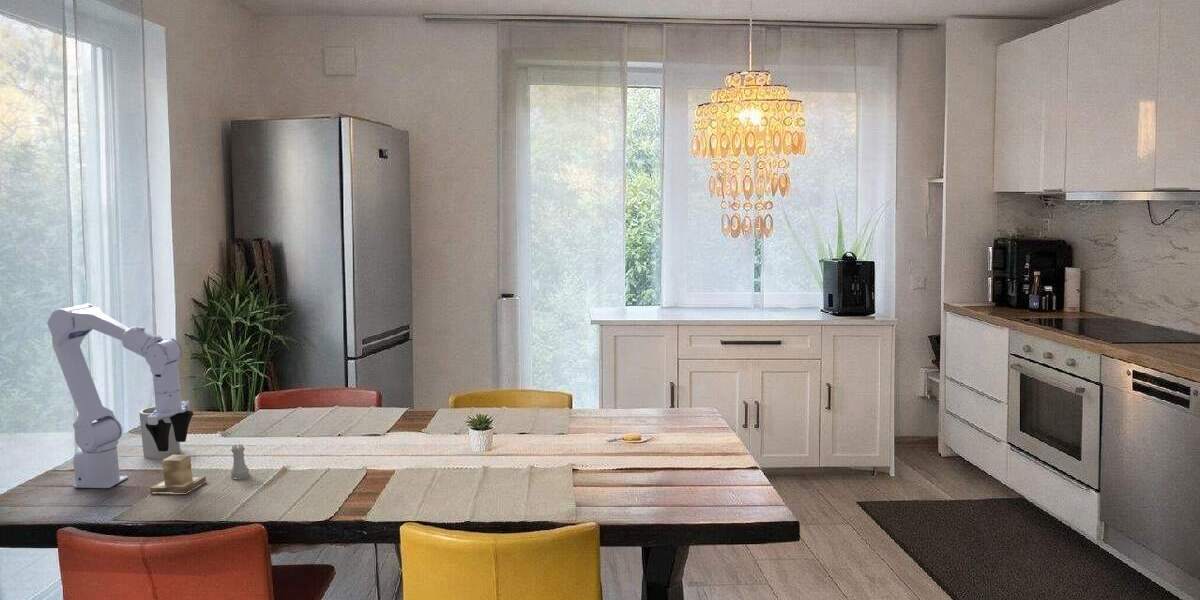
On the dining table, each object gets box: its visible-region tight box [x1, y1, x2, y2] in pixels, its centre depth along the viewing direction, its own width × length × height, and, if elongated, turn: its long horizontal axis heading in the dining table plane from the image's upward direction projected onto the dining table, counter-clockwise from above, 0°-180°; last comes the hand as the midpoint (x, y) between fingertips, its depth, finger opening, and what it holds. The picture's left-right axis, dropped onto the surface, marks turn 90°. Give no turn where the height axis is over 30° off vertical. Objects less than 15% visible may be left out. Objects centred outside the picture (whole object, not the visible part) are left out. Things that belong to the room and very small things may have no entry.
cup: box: [138, 405, 181, 459], centre depth 272 cm, size 9×9×12 cm
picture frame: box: [149, 475, 207, 494], centre depth 243 cm, size 9×9×2 cm
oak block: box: [162, 454, 193, 485], centre depth 243 cm, size 4×4×6 cm
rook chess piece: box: [230, 443, 250, 480], centre depth 250 cm, size 4×4×8 cm
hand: (172, 446), depth 242 cm, fingers open, 7 cm apart
